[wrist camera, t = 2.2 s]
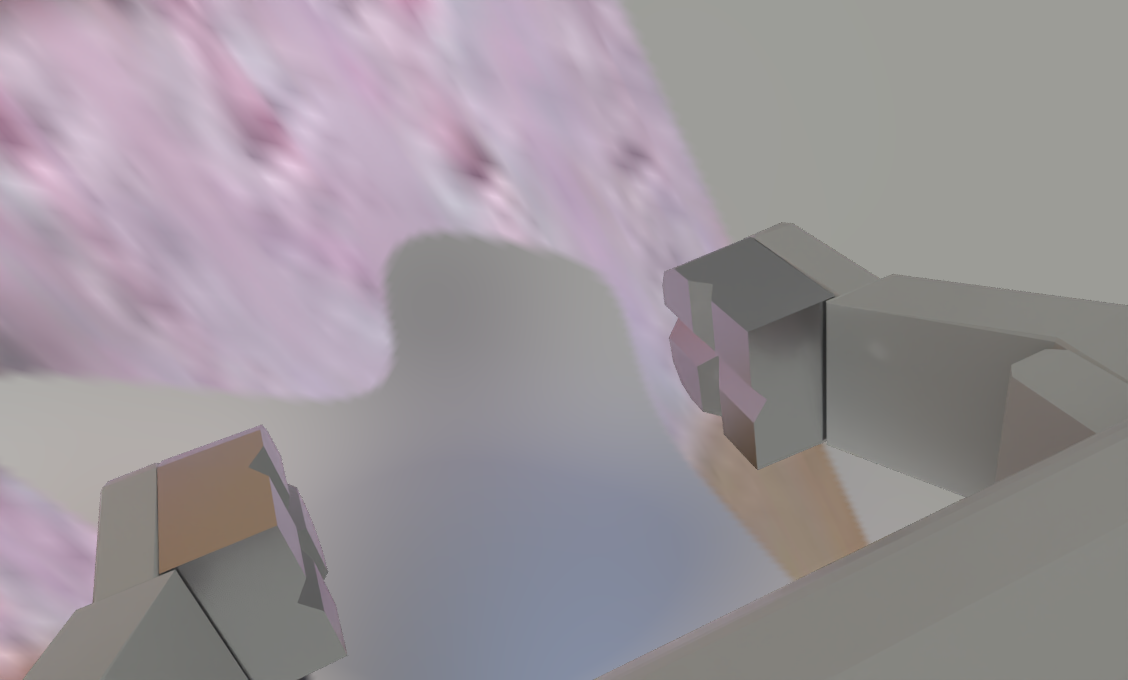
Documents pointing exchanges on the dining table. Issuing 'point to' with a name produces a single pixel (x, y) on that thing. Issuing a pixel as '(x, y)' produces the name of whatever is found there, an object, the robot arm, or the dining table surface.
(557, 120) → the dining table surface
